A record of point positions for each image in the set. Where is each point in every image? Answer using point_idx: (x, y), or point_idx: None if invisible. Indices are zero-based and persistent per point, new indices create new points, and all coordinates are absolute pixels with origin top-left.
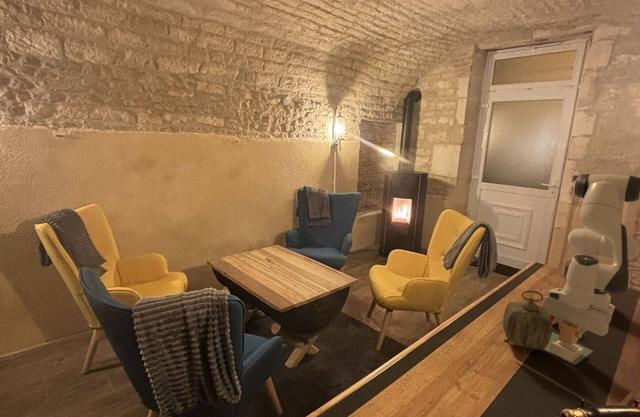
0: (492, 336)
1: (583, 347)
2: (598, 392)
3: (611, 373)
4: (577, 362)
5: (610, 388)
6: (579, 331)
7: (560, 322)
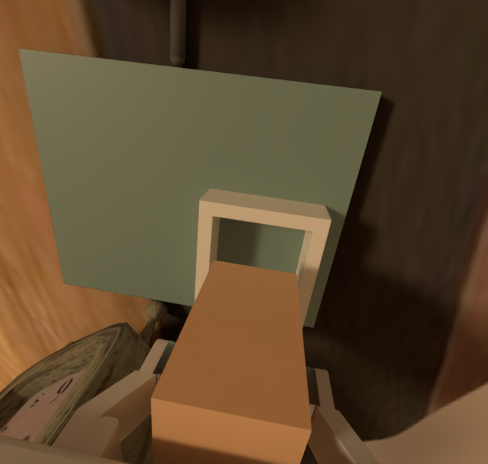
0: (26, 334)
1: (320, 102)
2: (403, 399)
3: (465, 243)
4: (318, 301)
5: (446, 355)
6: (301, 345)
7: (129, 419)
